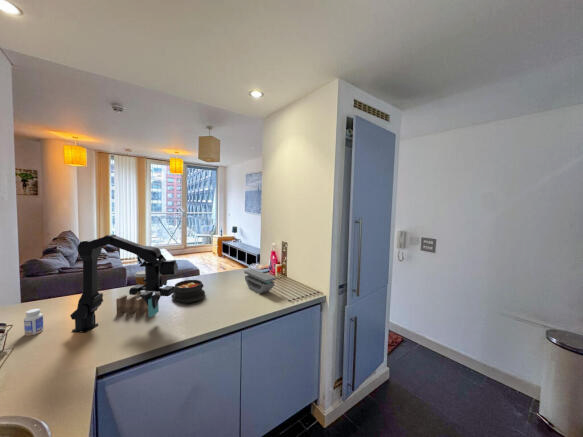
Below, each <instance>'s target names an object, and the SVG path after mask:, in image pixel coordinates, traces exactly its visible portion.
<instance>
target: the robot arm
mask: <svg viewBox="0 0 583 437" xmlns="http://www.w3.org/2000/svg"><path fill="white" fill-rule="evenodd" d="M108 245H109V246H112V247H115V248H118V249H121V250H123V251H126V252H129V253H131V254H134V255H136V256H137V257H138V258H139V259H141V260H142V263H141V264H140V265H139V268H140V267H142V268H143V267H144V270H145V279H143V281H144V282H145V285H137V284H136V285H135V286H132V287H130V288H129V290H128V295H131V296H133V295H136V296H137V294H138V293H140V295H139V298H140V297H142V298H143V299H144V301H145V302H146V304H147V305H148V299H150V298H151V297H152V302H153V308H154V309H155V308H156V306H157V304H158V305H159V300H160V298H161V297H170V296H172V294H173V293H174V292H175V287H174V286H175V285H167V284H168V278H163V277H162V276H176V275H177V274H178V270H179V266H178V263H177V260H176V259H173V260H167V258H166V257H165V256H164V255H163V254H162V251H161V249H160V248H159V247H155V246H150V245H142V244H140V243H136V242H134V241H132V240H128V239H126V238H123V237H120V236H117V235H116V234H105V235H104V236H102V237H98V238H97V239H96V238H92V239H87V240H83V241H81V242H80V243H78V245H77V252H78V256H79V257H80V259H81V260H82V294H81V296H80V297H79V299H78V304H77V308H76V310H74V311H73V312H72V313H71V314H70V318H71V320H74V329H72V330H71V332H76V333H86V332H88V331H90V330H92V329H94V328H95V327H97V326H98V325H99V323H97V322H96V311H97V310H98V308H99V307H100V306H101V305H102V303H103V302H104V299H103V296H104V293H101V292H99V291H98V260H99V257H100V256H101V253H102V250H103V248H104V247H106V246H108ZM163 286H165V287H163ZM162 287H163V288H162Z"/></svg>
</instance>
